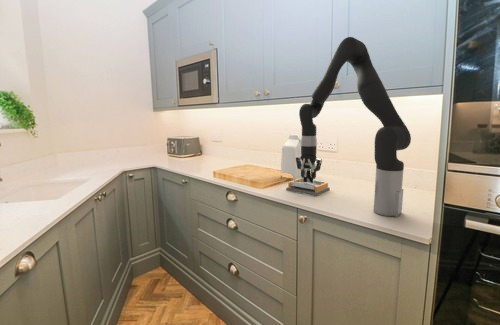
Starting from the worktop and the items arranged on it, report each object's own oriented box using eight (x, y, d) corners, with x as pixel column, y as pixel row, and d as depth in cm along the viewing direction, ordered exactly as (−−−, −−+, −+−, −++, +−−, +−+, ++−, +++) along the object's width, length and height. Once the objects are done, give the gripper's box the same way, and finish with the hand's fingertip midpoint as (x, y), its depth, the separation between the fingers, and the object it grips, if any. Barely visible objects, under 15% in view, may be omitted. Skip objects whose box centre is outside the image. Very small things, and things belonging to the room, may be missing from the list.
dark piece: (299, 182, 138) (300, 163, 136) (300, 180, 143) (301, 161, 141) (313, 183, 136) (313, 163, 134) (313, 180, 141) (314, 161, 139)
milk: (280, 176, 170) (280, 134, 166) (292, 173, 178) (292, 133, 173) (295, 180, 161) (296, 135, 157) (307, 176, 169) (308, 134, 164)
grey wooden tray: (324, 185, 139) (324, 181, 138) (314, 189, 131) (314, 185, 131) (302, 181, 147) (302, 177, 147) (291, 185, 140) (291, 181, 139)
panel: (329, 189, 139) (329, 182, 138) (316, 196, 129) (316, 188, 128) (300, 184, 150) (300, 177, 150) (286, 190, 140) (286, 182, 139)
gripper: (325, 145, 133) (324, 178, 136) (300, 143, 143) (299, 175, 146) (318, 146, 128) (317, 181, 131) (292, 144, 138) (292, 177, 140)
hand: (308, 178), depth 138 cm, fingers closed on dark piece, 5 cm apart
